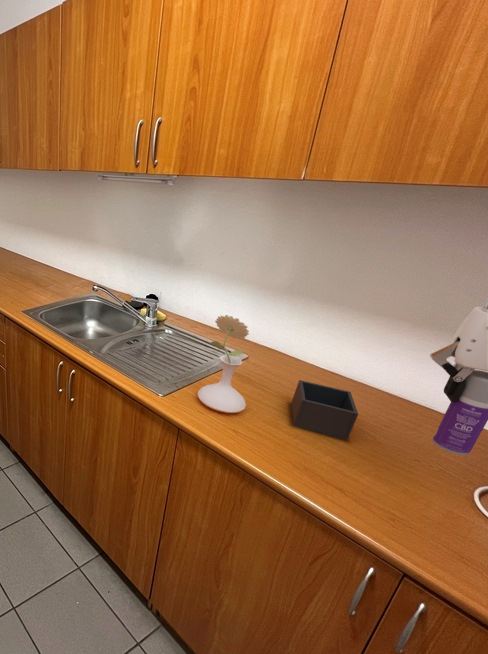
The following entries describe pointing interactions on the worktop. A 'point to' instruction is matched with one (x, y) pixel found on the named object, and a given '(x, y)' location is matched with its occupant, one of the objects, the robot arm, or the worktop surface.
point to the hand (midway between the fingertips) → (473, 401)
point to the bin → (323, 409)
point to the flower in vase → (226, 371)
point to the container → (465, 416)
